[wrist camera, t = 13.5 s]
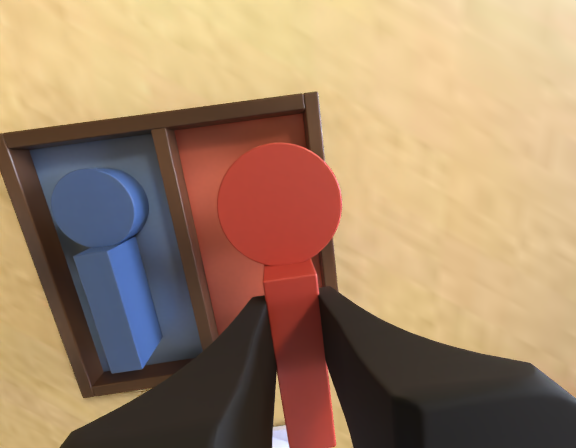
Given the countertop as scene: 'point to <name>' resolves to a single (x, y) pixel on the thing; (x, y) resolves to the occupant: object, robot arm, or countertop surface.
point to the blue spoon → (111, 259)
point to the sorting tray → (156, 222)
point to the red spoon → (288, 269)
